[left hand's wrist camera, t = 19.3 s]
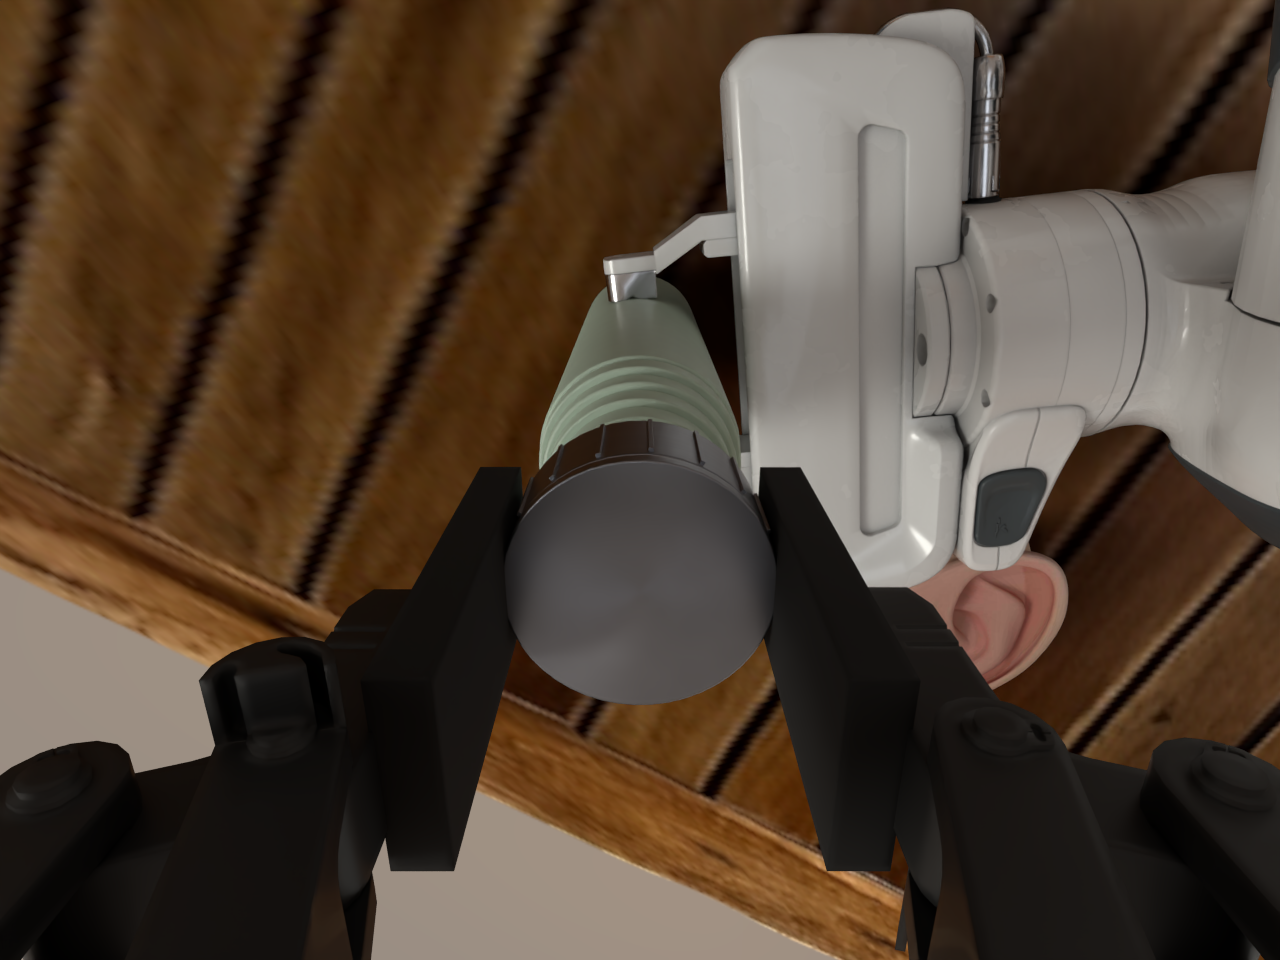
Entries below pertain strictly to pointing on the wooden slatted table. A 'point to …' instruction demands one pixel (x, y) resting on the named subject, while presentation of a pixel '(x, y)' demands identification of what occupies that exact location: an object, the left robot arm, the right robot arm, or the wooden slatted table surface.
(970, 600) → the anatomical model
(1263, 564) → the wooden slatted table surface
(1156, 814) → the left robot arm
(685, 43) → the wooden slatted table surface
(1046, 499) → the right robot arm
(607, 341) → the bottle
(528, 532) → the cap
